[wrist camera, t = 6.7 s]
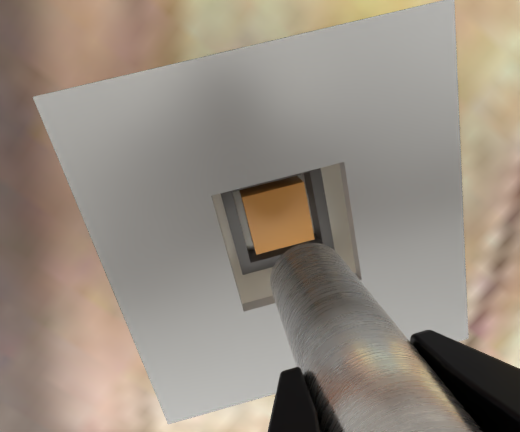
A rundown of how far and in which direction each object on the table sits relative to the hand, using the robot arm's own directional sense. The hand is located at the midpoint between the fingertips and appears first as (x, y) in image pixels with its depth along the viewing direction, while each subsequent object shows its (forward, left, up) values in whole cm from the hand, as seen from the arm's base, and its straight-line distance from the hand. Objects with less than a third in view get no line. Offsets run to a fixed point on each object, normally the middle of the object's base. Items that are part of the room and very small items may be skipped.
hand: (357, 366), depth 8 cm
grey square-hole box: (0, 0, -12) cm, 12 cm away
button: (0, 0, -11) cm, 11 cm away
